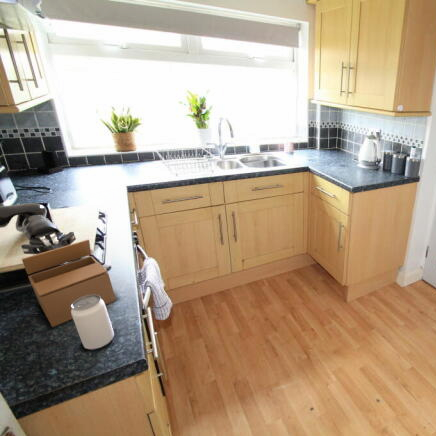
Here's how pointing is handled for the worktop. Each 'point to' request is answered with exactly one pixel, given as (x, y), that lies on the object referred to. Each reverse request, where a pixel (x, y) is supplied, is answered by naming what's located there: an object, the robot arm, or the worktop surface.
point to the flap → (56, 256)
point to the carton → (70, 287)
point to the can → (92, 321)
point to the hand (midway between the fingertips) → (57, 252)
